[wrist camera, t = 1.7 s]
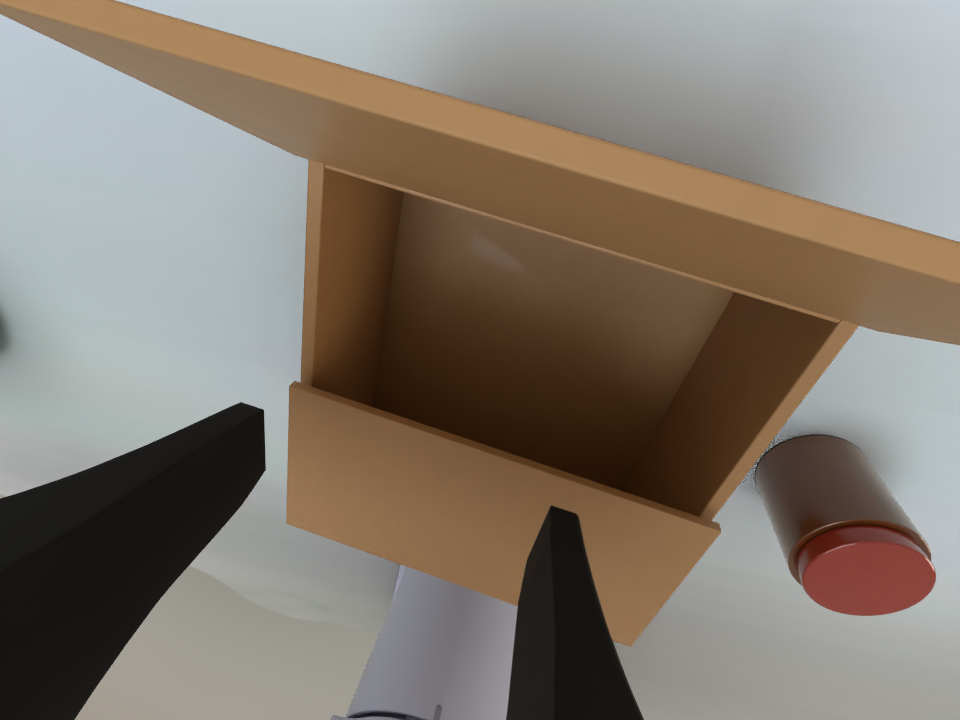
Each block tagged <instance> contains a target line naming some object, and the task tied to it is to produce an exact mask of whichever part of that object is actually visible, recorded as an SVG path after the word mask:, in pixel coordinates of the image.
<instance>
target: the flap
mask: <svg viewBox="0 0 960 720" xmlns="http://www.w3.org/2000/svg"><path fill="white" fill-rule="evenodd" d="M0 14H2V15H4V16H6V17H8V18H10V19H12V20H14V21H16V22H18V23H20V24H23V25H25V26H27V27H29V28H31V29H33V30H35V31H37V32H39V33H41V34H43V35H45V36H48V37H50V38H52V39H54V40H56V41H58V42H60V43H62V44H64V45H66V46H68V47H70V48H73V49H75V50H77V51H79V52H81V53H83V54H85V55H87V56H89V57H91V58H93V59H96V60H98V61H100V62H102V63H104V64H106V65H108V66H110V67H112V68H114V69H116V70H118V71H121V72H123V73H125V74H127V75H129V76H131V77H133V78H135V79H137V80H139V81H141V82H143V83H146V84H148V85H150V86H152V87H154V88H156V89H158V90H160V91H162V92H164V93H166V94H168V95H171V96H173V97H175V98H177V99H179V100H181V101H183V102H185V103H187V104H189V105H191V106H194V107H196V108H198V109H200V110H202V111H204V112H206V113H208V114H210V115H212V116H214V117H216V118H219V119H221V120H223V121H225V122H227V123H229V124H231V125H233V126H235V127H237V128H239V129H241V130H244V131H246V132H248V133H250V134H252V135H254V136H256V137H258V138H260V139H262V140H264V141H267V142H269V143H271V144H273V145H275V146H277V147H279V148H281V149H283V150H285V151H287V152H289V153H292V154H294V155H296V156H299V157H303V158H306V159H309V160H313V161H316V162H319V163H323V164H326V165H329V166H333V167H336V168H339V169H343V170H346V171H349V172H352V173H356V174H359V175H362V176H366V177H369V178H372V179H376V180H379V181H382V182H386V183H389V184H392V185H396V186H399V187H402V188H405V189H409V190H412V191H415V192H419V193H422V194H425V195H429V196H432V197H435V198H439V199H442V200H445V201H449V202H452V203H455V204H458V205H462V206H465V207H468V208H472V209H475V210H478V211H482V212H485V213H488V214H492V215H495V216H498V217H502V218H505V219H508V220H511V221H515V222H518V223H521V224H525V225H528V226H531V227H535V228H538V229H541V230H545V231H548V232H551V233H555V234H558V235H561V236H564V237H568V238H571V239H574V240H578V241H581V242H584V243H588V244H591V245H594V246H598V247H601V248H604V249H608V250H611V251H614V252H617V253H621V254H624V255H627V256H631V257H634V258H637V259H641V260H644V261H647V262H651V263H654V264H657V265H661V266H664V267H667V268H671V269H674V270H677V271H680V272H684V273H687V274H690V275H694V276H697V277H700V278H704V279H707V280H710V281H714V282H717V283H720V284H724V285H727V286H730V287H733V288H737V289H740V290H743V291H747V292H750V293H753V294H757V295H760V296H763V297H767V298H770V299H773V300H777V301H780V302H783V303H786V304H790V305H793V306H796V307H800V308H803V309H806V310H810V311H813V312H816V313H820V314H823V315H826V316H830V317H833V318H836V319H839V320H843V321H846V322H849V323H853V324H856V325H859V326H863V327H866V328H869V329H873V330H876V331H880V332H886V333H892V334H897V335H903V336H909V337H915V338H921V339H927V340H932V341H938V342H944V343H950V344H956V345H960V242H957V241H954V240H950V239H947V238H943V237H940V236H936V235H933V234H929V233H926V232H922V231H919V230H915V229H912V228H908V227H905V226H901V225H898V224H894V223H891V222H887V221H884V220H880V219H877V218H873V217H870V216H866V215H863V214H859V213H856V212H852V211H849V210H845V209H842V208H838V207H835V206H831V205H828V204H824V203H821V202H818V201H814V200H811V199H807V198H804V197H800V196H797V195H793V194H790V193H786V192H783V191H779V190H776V189H772V188H769V187H765V186H762V185H758V184H755V183H751V182H748V181H744V180H741V179H737V178H734V177H730V176H727V175H723V174H720V173H716V172H713V171H709V170H706V169H702V168H699V167H695V166H692V165H688V164H685V163H681V162H678V161H674V160H671V159H667V158H664V157H660V156H657V155H653V154H650V153H646V152H643V151H639V150H636V149H632V148H629V147H625V146H622V145H618V144H615V143H611V142H608V141H604V140H601V139H597V138H594V137H590V136H587V135H583V134H580V133H576V132H573V131H569V130H566V129H562V128H559V127H555V126H552V125H548V124H545V123H541V122H538V121H534V120H531V119H527V118H524V117H520V116H517V115H513V114H510V113H506V112H503V111H499V110H496V109H492V108H489V107H485V106H482V105H479V104H475V103H472V102H468V101H465V100H461V99H458V98H454V97H451V96H447V95H444V94H440V93H437V92H433V91H430V90H426V89H423V88H419V87H416V86H412V85H409V84H405V83H402V82H398V81H395V80H391V79H388V78H384V77H381V76H377V75H374V74H370V73H367V72H363V71H360V70H356V69H353V68H349V67H346V66H342V65H339V64H335V63H332V62H328V61H325V60H321V59H318V58H314V57H311V56H307V55H304V54H300V53H297V52H293V51H290V50H286V49H283V48H279V47H276V46H272V45H269V44H265V43H262V42H258V41H255V40H251V39H248V38H244V37H241V36H237V35H234V34H230V33H227V32H223V31H220V30H216V29H213V28H209V27H206V26H202V25H199V24H195V23H192V22H188V21H185V20H181V19H178V18H174V17H171V16H167V15H164V14H160V13H157V12H153V11H150V10H146V9H143V8H140V7H136V6H133V5H129V4H126V3H122V2H119V1H115V0H0Z"/></svg>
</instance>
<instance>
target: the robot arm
mask: <svg viewBox="0 0 960 720" xmlns="http://www.w3.org/2000/svg"><path fill="white" fill-rule="evenodd" d="M265 470H266V466H265V432H264V410H263V409H260V408H257V407H254V406H251V405H248V404H244V403H238V404H236V405H234V406H231V407H229V408H227V409H225V410H222V411H220V412H218V413H216V414H214V415H212V416H209V417H207V418H205V419H203V420H201V421H199V422H196V423H194V424H192V425H190V426H188V427H186V428H184V429H181V430H179V431H177V432H175V433H172V434H170V435H168V436H166V437H163V438H161V439H159V440H157V441H155V442H152V443H150V444H148V445H146V446H143V447H141V448H139V449H136V450H134V451H131V452H129V453H126V454H124V455H121V456H119V457H116V458H114V459H112V460H109V461H107V462H104V463H102V464H99V465H97V466H94V467H92V468H89V469H87V470H84V471H82V472H79V473H76V474H73V475H71V476H68V477H65V478H62V479H60V480H57V481H54V482H51V483H48V484H45V485H42V486H39V487H36V488H33V489H30V490H27V491H24V492H21V493H18V494H14V495H11V496H8V497H4V498H1V499H0V720H74V719H75V718H76V716H77V715H78V713H79V712H80V710H81V709H82V707H83V706H84V704H85V703H86V701H87V700H88V698H89V697H90V695H91V694H92V692H93V691H94V689H95V688H96V687H97V685H98V684H99V682H100V681H101V679H102V678H103V677H104V675H105V674H106V672H107V671H108V670H109V668H110V667H111V665H112V664H113V662H114V661H115V659H116V658H117V657H118V655H119V654H120V652H121V651H122V650H123V648H124V646H125V645H126V644H127V643H128V641H129V640H130V639H131V637H132V636H133V634H134V633H135V632H136V630H137V629H138V628H139V626H140V625H141V624H142V622H143V621H144V620H145V618H146V617H147V615H148V614H149V613H150V611H151V610H152V608H153V607H154V606H155V604H156V603H157V602H158V601H159V600H160V598H161V597H162V596H163V595H164V594H165V592H166V591H167V590H168V589H169V587H170V586H171V585H172V584H173V583H174V582H175V580H176V579H177V578H178V577H179V576H180V575H181V574H182V573H183V571H184V570H185V569H186V568H187V567H188V566H189V565H190V564H191V562H192V561H193V560H194V559H195V558H196V557H197V556H198V555H199V553H200V552H201V551H202V550H203V549H204V548H205V547H206V545H207V544H208V543H209V542H210V541H211V540H212V539H213V538H214V536H215V535H216V534H217V533H218V532H219V531H220V530H221V528H222V527H223V526H224V525H225V524H226V523H227V522H228V520H229V519H230V518H231V517H232V516H233V515H234V513H235V512H236V511H237V510H238V509H239V508H240V506H241V505H242V504H243V502H244V501H245V499H246V498H247V497H248V495H249V494H250V492H251V491H252V490H253V488H254V487H255V485H256V484H257V482H258V480H259V479H260V477H261V476H262V474H263V473H264V471H265ZM331 720H644V719H643V717H642V714H641V712H640V710H639V707H638V705H637V703H636V700H635V698H634V696H633V693H632V691H631V688H630V686H629V683H628V681H627V678H626V676H625V673H624V671H623V668H622V665H621V663H620V660H619V657H618V655H617V652H616V649H615V646H614V643H613V641H612V638H611V635H610V632H609V629H608V626H607V623H606V620H605V617H604V614H603V610H602V607H601V604H600V601H599V597H598V594H597V591H596V587H595V584H594V580H593V577H592V573H591V569H590V565H589V561H588V557H587V553H586V549H585V544H584V540H583V535H582V530H581V525H580V519H579V517H578V515H577V514H576V513H573V512H570V511H567V510H564V509H561V508H558V507H555V506H552V505H551V506H550V508H549V511H548V513H547V515H546V517H545V520H544V522H543V524H542V527H541V529H540V531H539V533H538V536H537V538H536V540H535V542H534V545H533V547H532V549H531V551H530V554H529V556H528V558H527V562H526V567H525V571H524V576H523V581H522V586H521V591H520V596H519V601H518V606H516V605H513V604H510V603H507V602H504V601H502V600H499V599H496V598H493V597H490V596H488V595H485V594H482V593H479V592H476V591H474V590H471V589H468V588H465V587H462V586H460V585H457V584H454V583H451V582H449V581H446V580H443V579H440V578H437V577H435V576H432V575H429V574H426V573H423V572H421V571H418V570H415V569H412V568H409V567H407V566H404V565H400V569H399V573H398V578H397V582H396V586H395V590H394V595H393V599H392V603H391V606H390V609H389V611H388V614H387V616H386V618H385V621H384V623H383V626H382V628H381V631H380V633H379V636H378V638H377V641H376V643H375V646H374V648H373V651H372V653H371V656H370V658H369V660H368V663H367V665H366V668H365V670H364V672H363V675H362V677H361V680H360V682H359V685H358V687H357V690H356V692H355V695H354V697H353V699H352V702H351V704H350V707H349V709H348V712H347V714H346V717H340V716H335V715H334V716H332V718H331Z"/></svg>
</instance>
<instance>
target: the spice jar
mask: <svg viewBox="0 0 960 720" xmlns="http://www.w3.org/2000/svg"><path fill="white" fill-rule="evenodd" d="M755 480H756V484H757V487H758V490H759V492H760V495H761V498H762V500H763V503H764V505H765V508H766V511H767V513H768V516H769V518H770V521H771V524H772V526H773V529H774V531H775V534H776V536H777V539H778V542H779V544H780V547H781V549H782V552H783V555H784V557H785V560H786V562H787V565H788V568H789V570H790V572H791V574H792V576H793V577H794V578H795V580H796V581H797V582H798V583H799V584H800V585H802V586H803V588H804V590H805V592H806V593H807V594H808V596H809V597H810V598H811V599H813V600H814V601H815V602H816V603H818V604H819V605H821V606H823V607H825V608H827V609H830V610H832V611H835V612H839V613H843V614H849V615H858V616H875V615H884V614H890V613H894V612H898V611H901V610H904V609H906V608H909V607H911V606H913V605H915V604H917V603H918V602H920V601H921V600H923V599H924V598H925V597H926V596H927V595H928V594H929V593H930V592H931V590H932V589H933V587H934V584H935V581H936V573H935V568H934V566H933V564H932V563H931V552H930V548H929V546H928V544H927V543H926V541H925V540H924V538H923V537H922V536H921V534H920V533H919V531H918V530H917V529H916V527H915V526H914V524H913V523H912V522H911V520H910V519H909V517H908V516H907V514H906V513H905V512H904V510H903V509H902V507H901V506H900V505H899V503H898V502H897V500H896V499H895V498H894V496H893V495H892V493H891V492H890V491H889V489H888V488H887V486H886V485H885V483H884V482H883V481H882V479H881V478H880V476H879V475H878V474H877V472H876V471H875V469H874V468H873V467H872V465H871V464H870V462H869V461H868V460H867V458H866V457H865V455H864V454H863V452H862V451H861V450H860V449H859V448H857V447H856V446H854V445H853V444H851V443H849V442H847V441H845V440H842V439H840V438H836V437H831V436H822V435H812V436H803V437H798V438H794V439H791V440H788V441H786V442H783V443H781V444H779V445H777V446H776V447H774V448H773V449H771V450H770V451H769V452H768V453H766V454H765V455H764V457H763V458H762V459H761V461H760V462H759V464H758V466H757V469H756V473H755Z"/></svg>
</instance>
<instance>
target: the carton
mask: <svg viewBox="0 0 960 720" xmlns="http://www.w3.org/2000/svg"><path fill="white" fill-rule="evenodd" d="M858 326H859V325H856V324H853V323H849V322H846V321H843V320H839V319H836V318H833V317H830V316H826V315H823V314H820V313H816V312H813V311H810V310H806V309H803V308H800V307H796V306H793V305H790V304H786V303H783V302H780V301H777V300H773V299H770V298H767V297H763V296H760V295H757V294H753V293H750V292H747V291H743V290H740V289H737V288H733V287H730V286H727V285H724V284H720V283H717V282H714V281H710V280H707V279H704V278H700V277H697V276H694V275H690V274H687V273H684V272H680V271H677V270H674V269H671V268H667V267H664V266H661V265H657V264H654V263H651V262H647V261H644V260H641V259H637V258H634V257H631V256H627V255H624V254H621V253H617V252H614V251H611V250H608V249H604V248H601V247H598V246H594V245H591V244H588V243H584V242H581V241H578V240H574V239H571V238H568V237H564V236H561V235H558V234H555V233H551V232H548V231H545V230H541V229H538V228H535V227H531V226H528V225H525V224H521V223H518V222H515V221H511V220H508V219H505V218H502V217H498V216H495V215H492V214H488V213H485V212H482V211H478V210H475V209H472V208H468V207H465V206H462V205H458V204H455V203H452V202H449V201H445V200H442V199H439V198H435V197H432V196H429V195H425V194H422V193H419V192H415V191H412V190H409V189H405V188H402V187H399V186H396V185H392V184H389V183H386V182H382V181H379V180H376V179H372V178H369V177H366V176H362V175H359V174H356V173H352V172H349V171H346V170H343V169H339V168H336V167H333V166H329V165H326V164H323V163H319V162H316V161H313V160H309V167H308V194H307V222H306V249H305V276H304V304H303V331H302V358H301V383H299V382H296V381H294V382H293V383H292V384H291V385H290V386H289V428H288V476H287V524H289V525H292V526H295V527H298V528H301V529H303V530H306V531H309V532H312V533H315V534H317V535H320V536H323V537H326V538H329V539H331V540H334V541H337V542H340V543H342V544H345V545H348V546H351V547H354V548H356V549H359V550H362V551H365V552H368V553H370V554H373V555H376V556H379V557H382V558H384V559H387V560H390V561H393V562H396V563H398V564H401V565H404V566H407V567H409V568H412V569H415V570H418V571H421V572H423V573H426V574H429V575H432V576H435V577H437V578H440V579H443V580H446V581H449V582H451V583H454V584H457V585H460V586H462V587H465V588H468V589H471V590H474V591H476V592H479V593H482V594H485V595H488V596H490V597H493V598H496V599H499V600H502V601H504V602H507V603H510V604H513V605H516V606H518V601H519V596H520V591H521V586H522V581H523V576H524V571H525V567H526V562H527V558H528V556H529V554H530V551H531V549H532V547H533V545H534V542H535V540H536V538H537V536H538V533H539V531H540V529H541V527H542V524H543V522H544V520H545V517H546V515H547V513H548V511H549V508H550V506H551V505H552V506H555V507H558V508H561V509H564V510H567V511H570V512H573V513H576V514H577V515H578V517H579V519H580V525H581V530H582V535H583V540H584V544H585V549H586V553H587V557H588V561H589V565H590V569H591V573H592V577H593V580H594V584H595V587H596V591H597V594H598V597H599V601H600V604H601V607H602V610H603V614H604V617H605V620H606V623H607V626H608V629H609V632H610V635H611V638H612V640H613V641H616V642H619V643H622V644H624V645H627V646H632V644H633V643H634V642H635V641H636V639H637V638H638V637H639V635H640V634H641V633H642V632H643V630H644V629H645V628H646V627H647V625H648V624H649V623H650V621H651V620H652V619H653V618H654V616H655V615H656V614H657V613H658V611H659V610H660V609H661V607H662V606H663V605H664V604H665V602H666V601H667V600H668V599H669V597H670V596H671V595H672V594H673V592H674V591H675V590H676V588H677V587H678V586H679V585H680V583H681V582H682V581H683V580H684V578H685V577H686V576H687V574H688V573H689V572H690V571H691V569H692V568H693V567H694V566H695V564H696V563H697V562H698V561H699V559H700V558H701V557H702V555H703V554H704V553H705V552H706V550H707V549H708V548H709V547H710V545H711V544H712V543H713V541H714V540H715V539H716V538H717V536H718V535H719V534H720V533H721V529H720V525H719V523H716V522H713V521H712V519H713V518H714V517H715V515H716V514H717V513H718V511H719V510H720V509H721V507H722V506H723V505H724V503H725V502H726V501H727V499H728V498H729V497H730V495H731V494H732V493H733V492H734V490H735V489H736V488H737V486H738V485H739V484H740V482H741V481H742V480H743V478H744V477H745V476H746V474H747V473H748V472H749V470H750V469H751V468H752V466H753V465H754V464H755V462H756V461H757V460H758V458H759V457H760V456H761V454H762V453H763V452H764V451H765V449H766V448H767V447H768V445H769V444H770V443H771V441H772V440H773V439H774V437H775V436H776V435H777V433H778V432H779V431H780V429H781V428H782V427H783V425H784V424H785V423H786V421H787V420H788V419H789V417H790V416H791V415H792V413H793V412H794V411H795V409H796V408H797V407H798V406H799V404H800V403H801V402H802V400H803V399H804V398H805V396H806V395H807V394H808V392H809V391H810V390H811V388H812V387H813V386H814V384H815V383H816V382H817V380H818V379H819V378H820V376H821V375H822V374H823V372H824V371H825V370H826V368H827V367H828V366H829V365H830V363H831V362H832V361H833V359H834V358H835V357H836V355H837V354H838V353H839V351H840V350H841V349H842V347H843V346H844V345H845V343H846V342H847V341H848V339H849V338H850V337H851V335H852V334H853V333H854V331H855V330H856V329H857V327H858Z"/></svg>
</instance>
